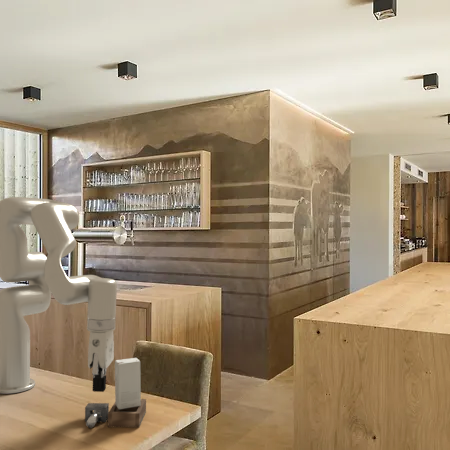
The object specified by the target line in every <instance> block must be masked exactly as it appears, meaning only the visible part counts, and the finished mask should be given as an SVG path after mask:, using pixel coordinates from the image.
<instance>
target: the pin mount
mask: <svg viewBox="0 0 450 450" xmlns="http://www.w3.org/2000/svg"><path fill="white" fill-rule="evenodd" d="M109 405H110V404H109V402H107V403H106V402H104V403H103V402H99V403H98V402H89V403H87V404H86V406H85V407H84V422H85V423H86V422H87V420H88V419H89V417H90V416H91V415H92V413H93V412H94V411H101V416H100V418H99V419H98V421H97V422H96V423H106V422H108V412H109V411H110V409H109V408H110V406H109Z"/></svg>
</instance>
